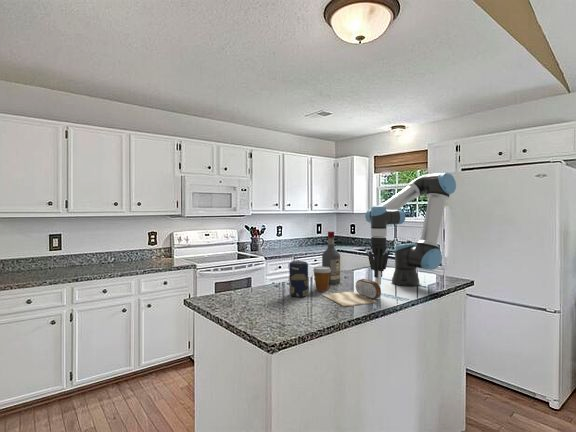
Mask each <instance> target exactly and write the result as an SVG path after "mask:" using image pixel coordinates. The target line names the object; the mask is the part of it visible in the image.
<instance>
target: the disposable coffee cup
mask: <svg viewBox="0 0 576 432" xmlns="http://www.w3.org/2000/svg"><path fill="white" fill-rule="evenodd" d="M312 271H313V275H314V282H315V291H317V292H327V291H328V290H329V285H330V284H329V276H330V271H331V270H330V267H324V266H322V265H321V266H320V265H319V266H314V267H313V269H312Z"/></svg>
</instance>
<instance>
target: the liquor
mask: <svg viewBox="0 0 576 432" xmlns="http://www.w3.org/2000/svg"><path fill="white" fill-rule="evenodd" d="M327 237H328V238H327V249H326V250H325V251H324V252H323V253H322V255H321V259H322V260H321V266H324V267H330V270H331V271H330V276H329V284H328V285H337V284H338V285H339V284H340V283H341V255H340V253H339V252H338V250H337V249H336V248H335V231H327Z"/></svg>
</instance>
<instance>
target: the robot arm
mask: <svg viewBox="0 0 576 432" xmlns="http://www.w3.org/2000/svg"><path fill="white" fill-rule="evenodd" d="M456 189H457V182H456V179H455V177H454V176H453V175H452V174H451V173H449V172H438V173H430V174H423V175H421V176H419V177H417V178H415V179H413V180H412V181H410V182H409V183H407V184H406V186H405V188H403V189H402V190H400V191H399V192H398V193H396V194H394V195H393V196H392V197H390V198H389V199H387V200H386V201H384V202H382V204H381V205H375V206H374V205H373V206H372V207H371V209H369V210H367V211H366V212H365V215H364V216H365V217H364V218H365V220H366V222H368V223H369V224H370V236H371V237H370V245H371V246H370V249H369V250H367V251H366V254H367V256H368V261H369V266H370V270H372V271H373V272H374V278H375V281H374V282H376V283H377V284H378V285H382V278H383V272H384V271H385V270H387V265H388V260H389V256H390V254H391V250H390V249H387V226H388V225H390V226H392V225H394V226H395V225H396V226H398V225H402V224H403V223H405V221H406V213H405V212H404V211H403V210H401V209H400V208H402V207H404V206H405V205H407V203H409V202H411V201H412V200H414V199H417V198H420V196H425V195H426V197H427V198H428V199H427V204H426V205H427V206H426V210H425V211H426V212H425V215H424V220H423V224H422V229H421V236H420V240H418V241H416V243H402V244H397V245H395V248H394V272H393V276H392V277H391V283H392V284H394V285H397V286H400V287H401V286H403V287H415V286H416V287H417V286H419V285H420V278H419V275H418V272H417V268H418V269H422V270H426V271H434V270H436V269H437V268H438V267H440V265H441V264H442V261H443V255H442V254H443V253H442V251H441V250H440V246H439V244H438V239H439V235H440V230H441V229H440V228H441V225H442V220H443V214H444V211H445V210H444V209H445V204H446V201H448V200H449V199H450V196H451V195H452V194H454V192H455V191H456Z"/></svg>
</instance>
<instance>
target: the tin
mask: <svg viewBox="0 0 576 432" xmlns="http://www.w3.org/2000/svg"><path fill="white" fill-rule="evenodd" d="M355 289H356V292H357V294H359V295H362V296H364V297H366V298H369V299H370V298H371V300H376V299H379V298H380V297H381V294H382V291H381V286H380V284H377V283H376V282H375V281H373V280H370V279H366V278H361V279H358V280H357V281H356V283H355Z"/></svg>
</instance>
